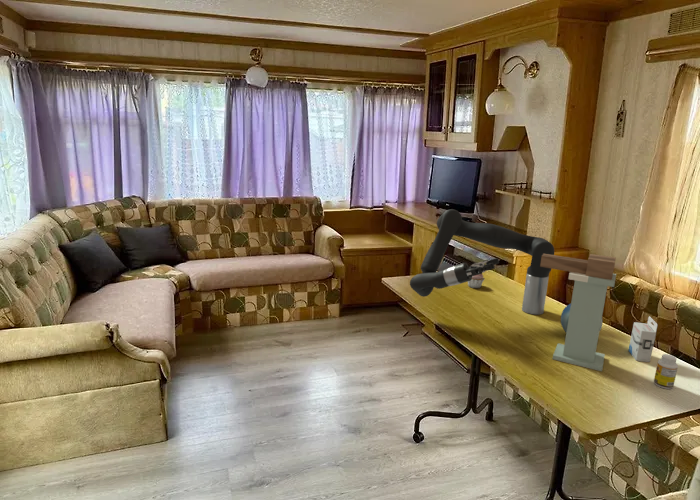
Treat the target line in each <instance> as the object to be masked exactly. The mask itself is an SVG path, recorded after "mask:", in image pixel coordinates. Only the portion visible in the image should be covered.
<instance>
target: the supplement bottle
mask: <svg viewBox="0 0 700 500" xmlns="http://www.w3.org/2000/svg"><path fill="white" fill-rule="evenodd" d="M678 368H679V366H678V363H677V357H676V356H674V355H672V354H669V353H668V354H667V353H663V354H662V355H661V357H660V359H658V360H657V364H656V369H655V373H654V378H653V383H654V385H656V387H659V388H661V389H665V390H670V389H671V390H672V389H673V388H674V385H675V381H676V377H677V373H678Z"/></svg>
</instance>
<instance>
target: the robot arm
mask: <svg viewBox="0 0 700 500" xmlns="http://www.w3.org/2000/svg"><path fill="white" fill-rule="evenodd" d="M436 227H437V229H438V231H437V233H436V236H435V238H434V240H433V242H432V244H431V245H430V246H429V249H428V250H427V252H426V254H425V256H424V258H423V261H422V263H421V265H420V270H421V273H417V274H416V275H414V276H412V278H411V279H410V281H409V286H410V288H411V289H412V290H413V291H414V292H416V293H417V294H418V295H419V296H420V297H422V298H423V297H424V298H425V297H427V296H429V295H431V293H432V292H433V290H434V288H435V289H438V290H441V289H444V288H445V289H446V288H449V287H451V286H457V285H460V284H463V283H466V282H467V283H468V281H471V280H472V276H475V275H478V274H483V273H485V272H486V271H490V270H493V269H495V266H497V265H499V263H500V261H499V260H500V259H499V258H497V257H496V258H493V259H485V260H483V261H479V262H477V263H476V262H475V263H473V264H471V265H469V264H468V263H467V262H462V263H458V264H456V265H455V264H454V265H452V266H449V267H447V268H445V269H442V270H439V267H440V266H441V263H442V261H443V258H444V255H445V253H446V251H447V248H448V246H449V244H450V243H451V240H452V239H453V237H454V236H457V237H462V238H466V239H470V240H472V241H474V242H478V243H482V244H485V245H487V246H491V247H493V248H494V247H495V248H498V249H505V250H506V249H507V250H516V251H520V252H521V253H522V252H523V253H525V254H526V255H529V256H531V259H530V265H529V266H528V267H527V268H526V269H527V270H526V277H525V283H524V284H525V285H524V290H523V298H522V299H523V300H522V306H521V310H522V311H523V312H524V313H526V314H530V315H537V316H539V315H543V314H544V311H545V304H546V299H547V298H546V297H547V291H548V284H549V278H550V273H551V271H552V269H551V268H545V267H540V264H541V257H542V255H543V254H550V255H555V247H554V245H553V243H551V242H550V241H548V240H547V239H545V238H543V237H537V236H532V235H527V234H523V233H519V232H517V231H515V230H512V229H510V228H506V227H504V226H501V225H498V224H497V225H496V224H493V223H489V222H488V223H487V222H470V221H466V220H464V219H463V216H462V214H461V212H459V211H458V210H456V209H453V208H451V209H447V210H445V211H444V212H443V213H442V214H441V215H440V216H439V217H438V219H437V221H436Z"/></svg>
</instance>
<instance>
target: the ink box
mask: <svg viewBox="0 0 700 500" xmlns="http://www.w3.org/2000/svg"><path fill="white" fill-rule="evenodd" d="M657 330H658V323H657V322H656V321H655V320H654V319H653V318H652V317H651V316H648V317H647V323H643V322H637V321H635V322H634V321H633V324H632V331H631V335H630V341H629V345H628V352H629V353H630V355H631V356H632V357H633V359H634V360H635V361H637V362H647V363H650V362H651V358H652V354H653V350H654V344H655V340H656V336H657Z"/></svg>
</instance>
